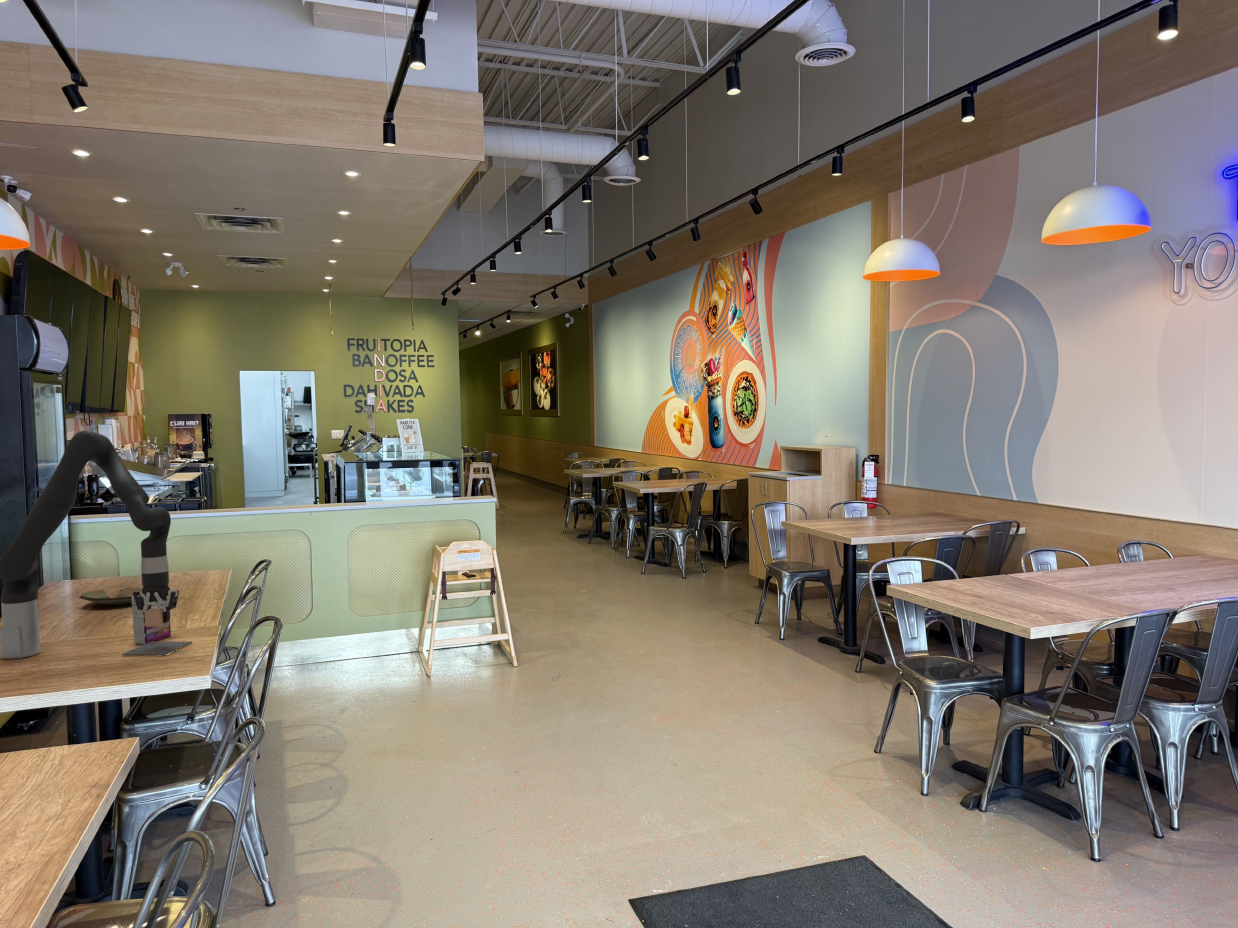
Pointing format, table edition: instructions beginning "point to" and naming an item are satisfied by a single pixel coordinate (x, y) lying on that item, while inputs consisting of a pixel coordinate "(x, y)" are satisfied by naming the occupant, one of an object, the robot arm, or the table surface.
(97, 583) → the table surface
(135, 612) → the candy bar box
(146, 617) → the letter cube
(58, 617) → the table surface
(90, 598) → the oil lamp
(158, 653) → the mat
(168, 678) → the table surface
